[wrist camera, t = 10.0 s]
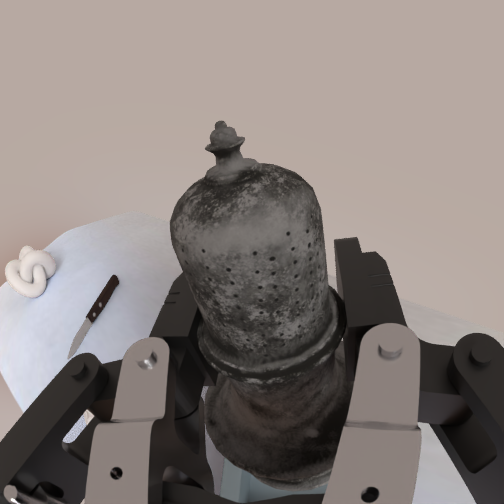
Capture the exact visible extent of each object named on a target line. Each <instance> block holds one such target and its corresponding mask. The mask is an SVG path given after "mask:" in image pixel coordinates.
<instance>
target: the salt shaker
mask: <svg viewBox="0 0 504 504" xmlns="http://www.w3.org/2000/svg"><path fill="white" fill-rule="evenodd" d="M210 141H211V144H209V145H207V147H206V148H205V150H207V151H209V152H211V153H213V154H214V155H215V156H216V166H214V167H212V168H211V169H209V170H208V171H207V173H206V175H205V177H204V178H202V179H200V180H198V181H197V182H196V183H194V184H193V185H192V186H191V187H190V188H189V189H188V190H187V191H186V192H185V193H184V194H183V196H182V197H181V198H180V199H179V200H178V202H177V204H176V206H175V208H174V211H173V214H172V217H171V220H170V232H171V240H172V245H173V248H174V250H175V253H176V255H177V258H178V260H179V263H180V265H181V268H182V270H183V273H184V275H185V277H186V280H187V282H188V284H189V287H190V289H191V291H192V294H193V296H194V298H195V301H196V303H197V305H198V308H199V310H200V312H201V314H202V317H201V320H200V323H199V327H198V331H197V339H198V345H199V349H200V351H201V353H202V354H203V356H204V358H205V359H206V361H207V363H208V364H209V365H211V366H212V367H213V368H214V369H215V370H217V371H218V372H219V374H218V378H217V382H216V386H209V388H208V390H207V393H206V396H205V404H204V418H205V424H206V429H207V433H208V434H209V436H210V438H211V440H212V442H213V443H214V445H215V447H216V449H217V450H218V451H219V452H220V453H221V454H222V455H223V456H224V457H225V458H226V459H228V460H229V461H230V462H231V463H232V464H233V465H234V466H236V467H238V468H240V469H242V470H244V471H247V472H249V473H251V474H252V475H253V476H254V477H255V478H256V479H258V480H259V481H260V482H262V483H264V484H266V485H268V486H271V487H273V488H275V489H280V490H286V491H293V492H294V491H304V490H312V489H315V488H318V487H320V486H323V485H326V484H328V482H329V479H330V475H331V472H332V468H333V465H334V461H335V457H336V454H337V450H338V446H339V442H340V438H341V434H342V431H343V427H344V424H345V423H346V420H347V416H348V411H349V406H350V402H351V397H352V392H353V386H354V381H352V382H347V379H346V366H345V355H344V344H343V341H341V340H342V338H343V335H344V333H345V329H346V318H345V310H344V303H343V300H342V299H341V297H340V296H339V295H338V293H337V292H336V291H335V289H333V288H332V287H331V286H329V285H328V275H327V264H326V253H325V243H324V233H323V224H322V215H321V208H320V206H319V203H318V200H317V198H316V195H315V193H314V190H313V188H312V187H311V186H310V185H309V184H308V183H307V182H306V181H305V180H304V179H303V178H302V177H301V176H299V175H298V174H297V173H295V172H293V171H291V170H288V169H285V168H282V167H280V166H277V165H274V164H265V163H261V164H260V163H258V162H257V161H256V160H254V159H249V158H243V157H242V155H241V152H240V146H241V145H242V144H243V142H244V141H245V138H244V137H237V134H236V131H235V129H234V128H232V127H227V125H226V123H225V122H224V121H218V122H216V124H215V130H214V131H213V132H212V133H211V135H210Z"/></svg>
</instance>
